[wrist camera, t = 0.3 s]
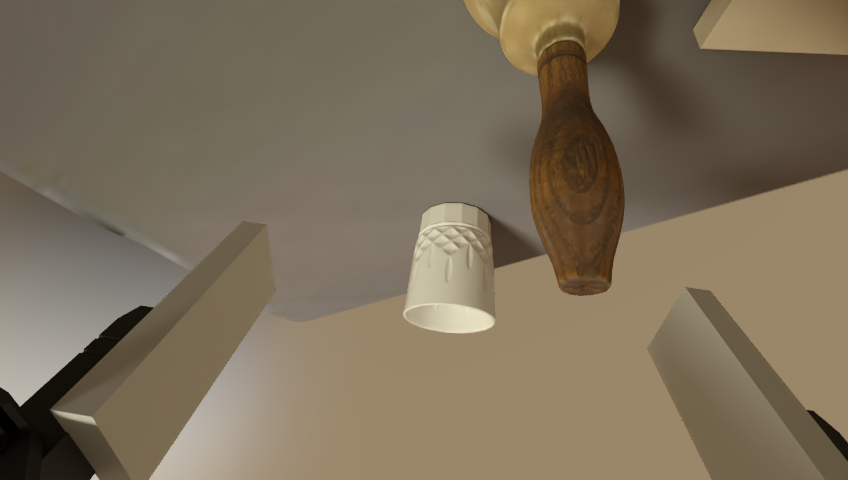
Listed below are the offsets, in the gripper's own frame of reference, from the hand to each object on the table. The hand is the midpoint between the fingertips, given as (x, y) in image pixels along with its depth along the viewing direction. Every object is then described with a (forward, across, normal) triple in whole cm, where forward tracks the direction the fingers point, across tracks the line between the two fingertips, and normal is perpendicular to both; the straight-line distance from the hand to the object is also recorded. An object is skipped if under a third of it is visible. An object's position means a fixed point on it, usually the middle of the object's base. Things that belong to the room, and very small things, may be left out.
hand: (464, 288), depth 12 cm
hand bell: (+12, +2, +10) cm, 16 cm away
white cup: (+23, 0, -11) cm, 26 cm away
